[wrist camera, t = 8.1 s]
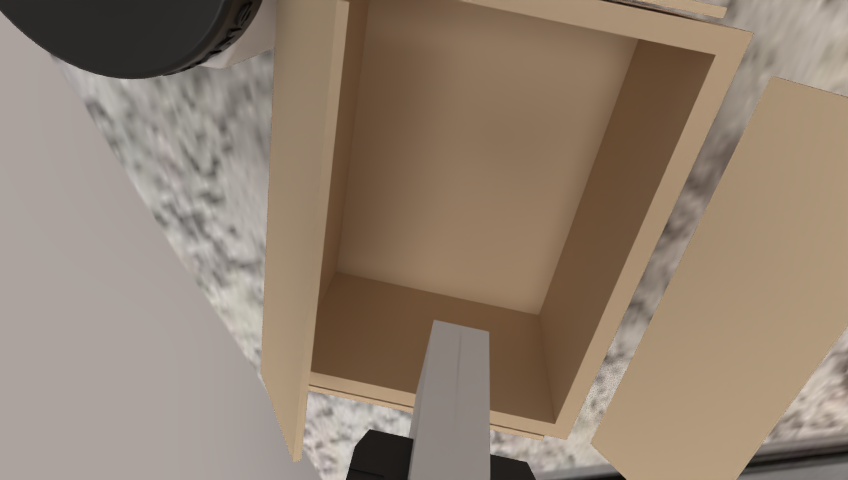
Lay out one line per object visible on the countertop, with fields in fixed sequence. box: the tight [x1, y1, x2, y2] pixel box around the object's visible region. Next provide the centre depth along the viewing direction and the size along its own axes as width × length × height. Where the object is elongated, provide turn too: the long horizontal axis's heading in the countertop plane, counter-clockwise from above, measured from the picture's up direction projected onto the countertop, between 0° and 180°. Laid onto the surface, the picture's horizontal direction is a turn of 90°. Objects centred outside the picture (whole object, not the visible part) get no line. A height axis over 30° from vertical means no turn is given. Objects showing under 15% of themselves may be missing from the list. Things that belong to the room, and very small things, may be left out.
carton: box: [309, 0, 754, 441], centre depth 24 cm, size 19×14×9 cm
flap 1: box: [261, 0, 349, 462], centre depth 18 cm, size 16×5×1 cm
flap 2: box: [590, 77, 848, 480], centre depth 18 cm, size 16×5×1 cm
